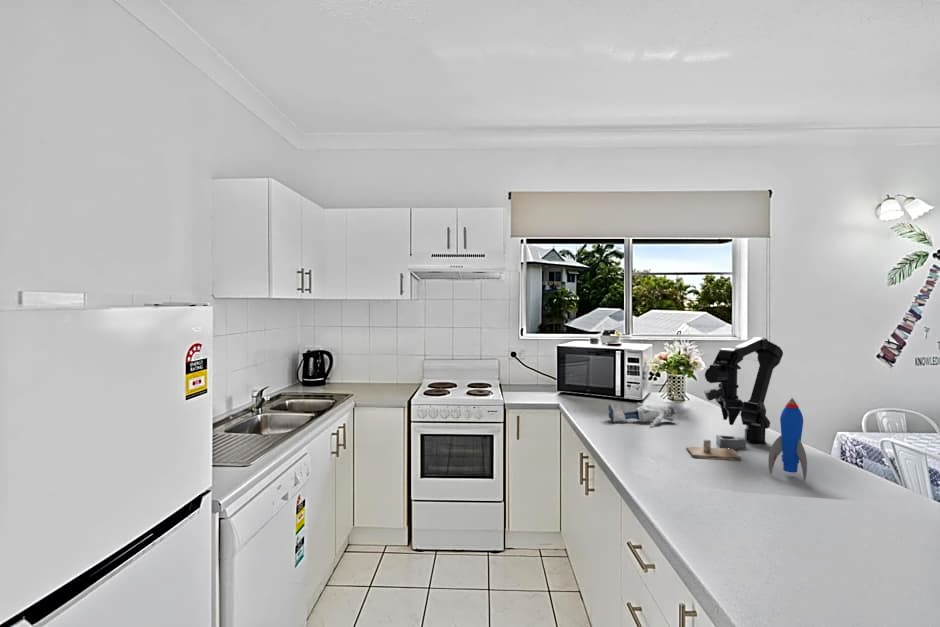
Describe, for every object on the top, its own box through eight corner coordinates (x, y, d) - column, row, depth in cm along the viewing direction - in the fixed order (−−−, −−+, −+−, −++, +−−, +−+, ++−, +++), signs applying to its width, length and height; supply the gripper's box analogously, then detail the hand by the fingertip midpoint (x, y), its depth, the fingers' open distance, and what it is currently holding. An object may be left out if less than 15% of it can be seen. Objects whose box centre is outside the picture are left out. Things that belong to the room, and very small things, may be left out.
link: (742, 445, 224) (742, 436, 224) (747, 450, 217) (747, 440, 217) (716, 444, 226) (716, 435, 226) (720, 448, 219) (720, 439, 219)
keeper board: (732, 451, 215) (732, 438, 215) (740, 460, 203) (741, 446, 203) (686, 448, 218) (686, 435, 218) (692, 457, 206) (692, 443, 206)
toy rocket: (807, 482, 180) (809, 401, 179) (773, 479, 181) (775, 400, 181) (795, 472, 190) (797, 395, 189) (763, 469, 192) (765, 394, 191)
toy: (605, 396, 275) (669, 392, 274) (605, 412, 278) (669, 408, 276) (615, 418, 253) (685, 414, 252) (615, 435, 256) (684, 431, 254)
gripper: (701, 377, 232) (700, 416, 232) (711, 384, 214) (711, 426, 214) (731, 378, 230) (730, 417, 230) (744, 385, 211) (743, 428, 212)
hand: (728, 422), depth 222 cm, fingers open, 9 cm apart
